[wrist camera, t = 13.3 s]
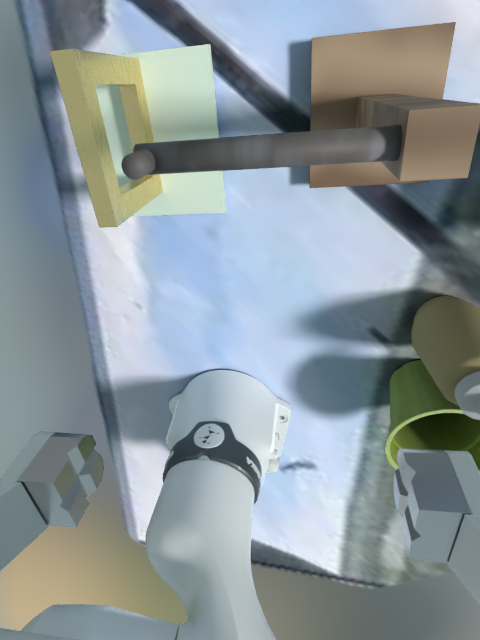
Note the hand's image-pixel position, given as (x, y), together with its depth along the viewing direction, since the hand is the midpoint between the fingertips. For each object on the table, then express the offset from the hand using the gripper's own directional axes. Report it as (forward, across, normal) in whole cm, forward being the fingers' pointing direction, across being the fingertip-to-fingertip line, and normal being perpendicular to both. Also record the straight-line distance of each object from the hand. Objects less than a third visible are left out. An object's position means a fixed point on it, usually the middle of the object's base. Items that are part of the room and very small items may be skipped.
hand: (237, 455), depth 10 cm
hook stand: (+35, +3, +6) cm, 35 cm away
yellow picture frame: (+34, -14, +6) cm, 38 cm away
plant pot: (+35, +16, -26) cm, 47 cm away
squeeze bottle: (+35, +18, -16) cm, 43 cm away
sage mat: (+35, -14, +5) cm, 38 cm away
